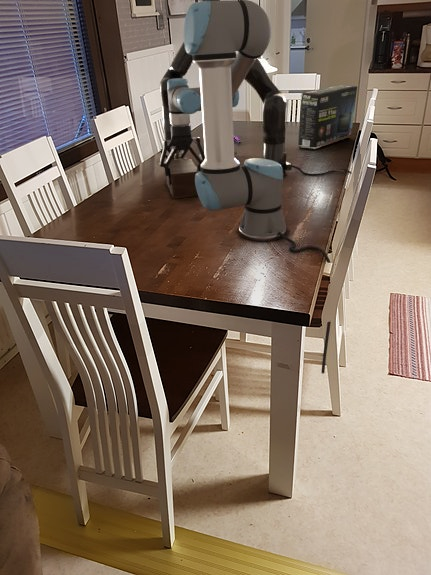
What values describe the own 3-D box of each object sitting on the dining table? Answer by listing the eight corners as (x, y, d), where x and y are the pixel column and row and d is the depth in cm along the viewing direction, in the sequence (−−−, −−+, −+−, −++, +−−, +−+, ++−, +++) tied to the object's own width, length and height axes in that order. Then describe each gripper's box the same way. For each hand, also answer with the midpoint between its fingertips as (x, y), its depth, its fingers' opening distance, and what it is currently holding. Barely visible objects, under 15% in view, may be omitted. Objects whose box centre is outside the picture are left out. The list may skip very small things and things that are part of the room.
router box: (314, 151, 231) (318, 94, 217) (296, 148, 237) (299, 92, 224) (352, 138, 251) (358, 85, 238) (335, 135, 258) (340, 83, 245)
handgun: (220, 136, 265) (220, 133, 264) (233, 135, 266) (233, 132, 265) (227, 145, 248) (227, 141, 247) (241, 143, 249) (241, 140, 248)
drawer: (164, 174, 204) (163, 156, 200) (186, 172, 206) (185, 154, 202) (172, 190, 185) (170, 171, 181) (195, 188, 187) (194, 169, 183)
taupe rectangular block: (166, 184, 195) (164, 161, 190) (192, 181, 197) (190, 158, 192) (173, 198, 180) (171, 174, 175) (200, 195, 182) (199, 171, 177)
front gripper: (209, 119, 175) (211, 176, 186) (147, 124, 171) (154, 182, 182) (213, 123, 168) (215, 181, 180) (150, 129, 164) (156, 188, 176)
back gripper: (186, 125, 197) (189, 166, 206) (155, 128, 195) (159, 169, 203) (189, 129, 191) (192, 170, 199) (157, 132, 188) (162, 173, 197)
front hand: (184, 182), depth 181 cm, fingers closed on taupe rectangular block, 11 cm apart
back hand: (175, 169), depth 201 cm, fingers closed
